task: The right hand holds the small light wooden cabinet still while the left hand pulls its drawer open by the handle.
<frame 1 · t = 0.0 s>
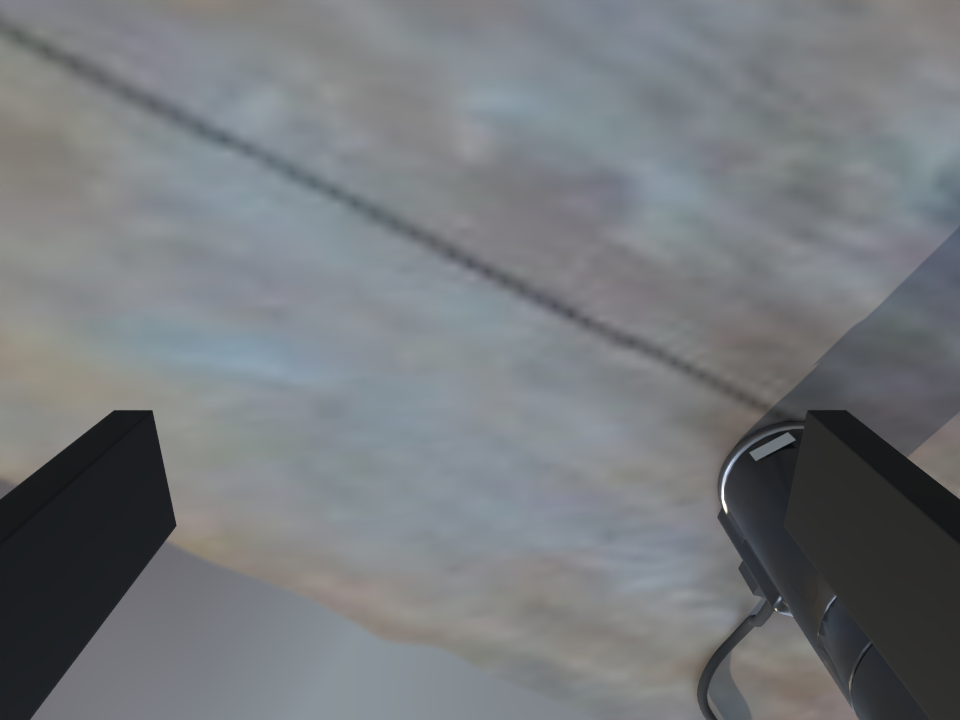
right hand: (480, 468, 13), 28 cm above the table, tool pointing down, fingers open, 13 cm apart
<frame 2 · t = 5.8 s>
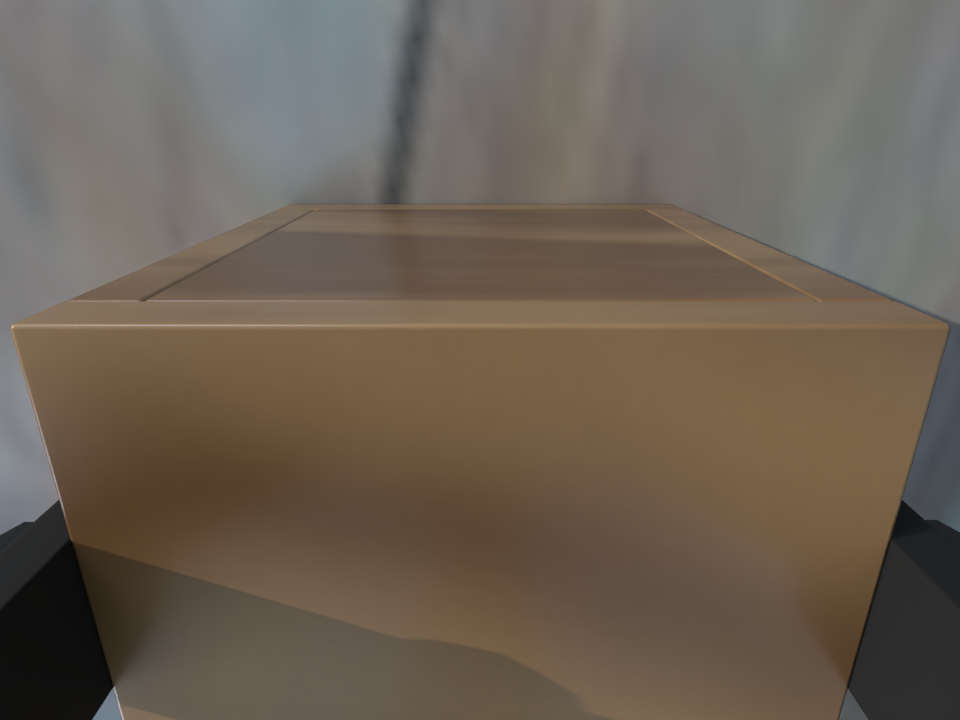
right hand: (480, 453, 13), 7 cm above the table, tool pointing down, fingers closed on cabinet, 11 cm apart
cabinet: (480, 512, 22), on the table, touching right hand
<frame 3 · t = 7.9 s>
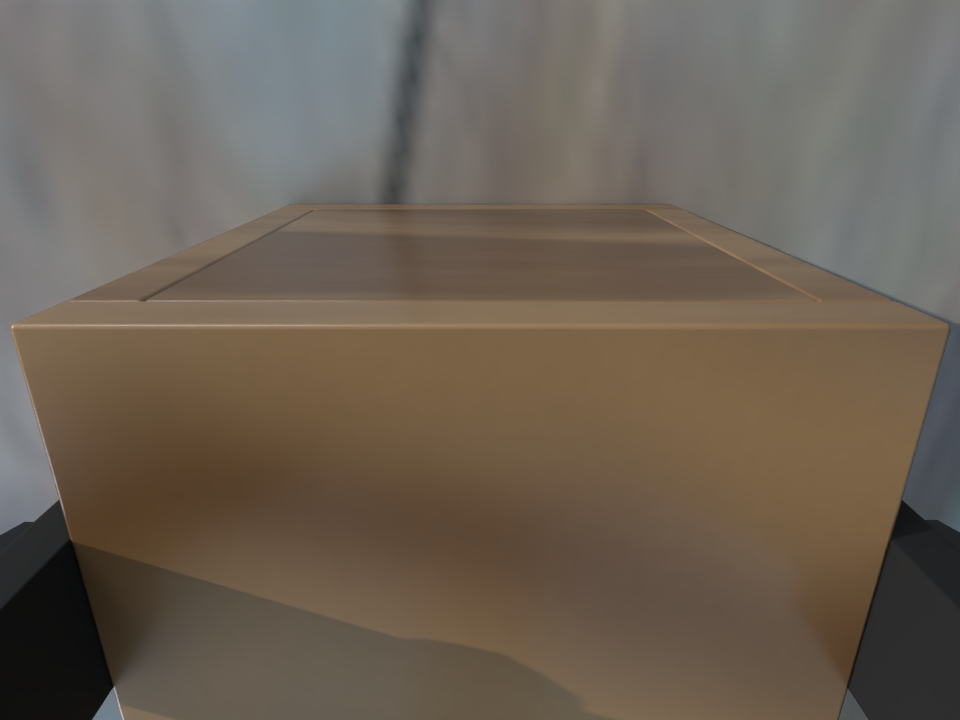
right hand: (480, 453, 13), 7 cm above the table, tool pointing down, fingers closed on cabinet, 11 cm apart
cabinet: (480, 512, 22), on the table, touching right hand
when the right hand's fingers open (7 cm above the table, at t = 10.9 s): cabinet stays where it is, on the table.
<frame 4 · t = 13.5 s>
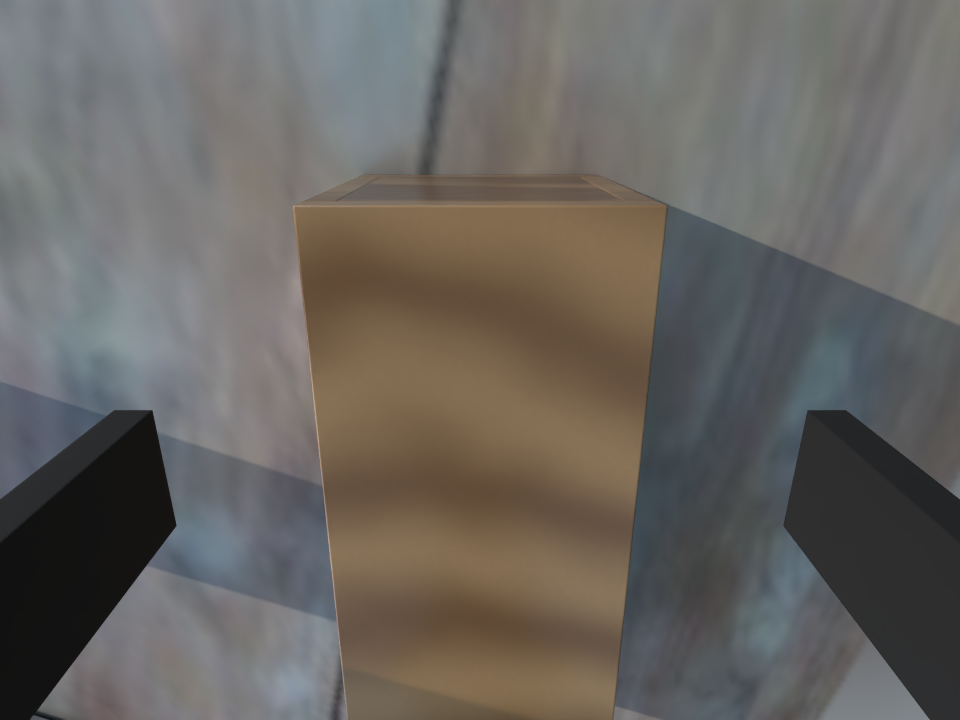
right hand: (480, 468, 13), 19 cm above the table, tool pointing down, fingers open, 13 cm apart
cabinet: (480, 382, 33), on the table
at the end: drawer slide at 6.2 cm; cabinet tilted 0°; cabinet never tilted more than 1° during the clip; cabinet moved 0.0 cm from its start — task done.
